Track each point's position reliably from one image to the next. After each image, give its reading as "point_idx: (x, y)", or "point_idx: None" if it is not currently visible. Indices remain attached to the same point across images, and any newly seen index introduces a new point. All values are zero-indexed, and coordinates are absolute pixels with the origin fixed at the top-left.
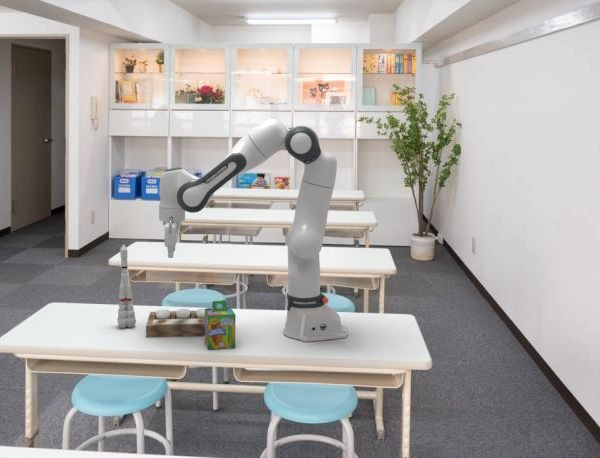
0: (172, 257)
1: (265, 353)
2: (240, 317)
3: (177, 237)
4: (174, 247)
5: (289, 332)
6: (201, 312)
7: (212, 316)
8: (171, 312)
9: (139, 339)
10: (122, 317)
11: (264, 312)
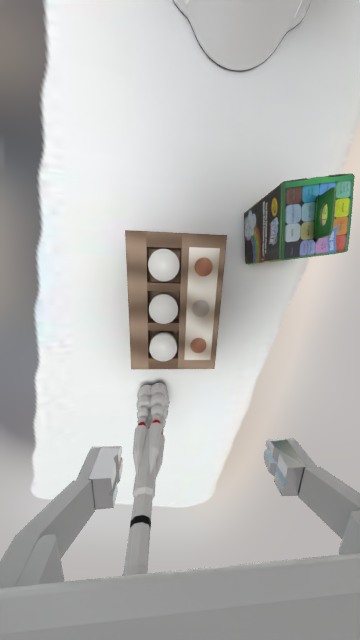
0: (292, 440)
1: (336, 144)
2: (108, 176)
3: (151, 630)
4: (113, 475)
5: (268, 45)
6: (176, 268)
7: (348, 241)
8: (138, 331)
9: (217, 367)
10: (167, 409)
11: (66, 98)
